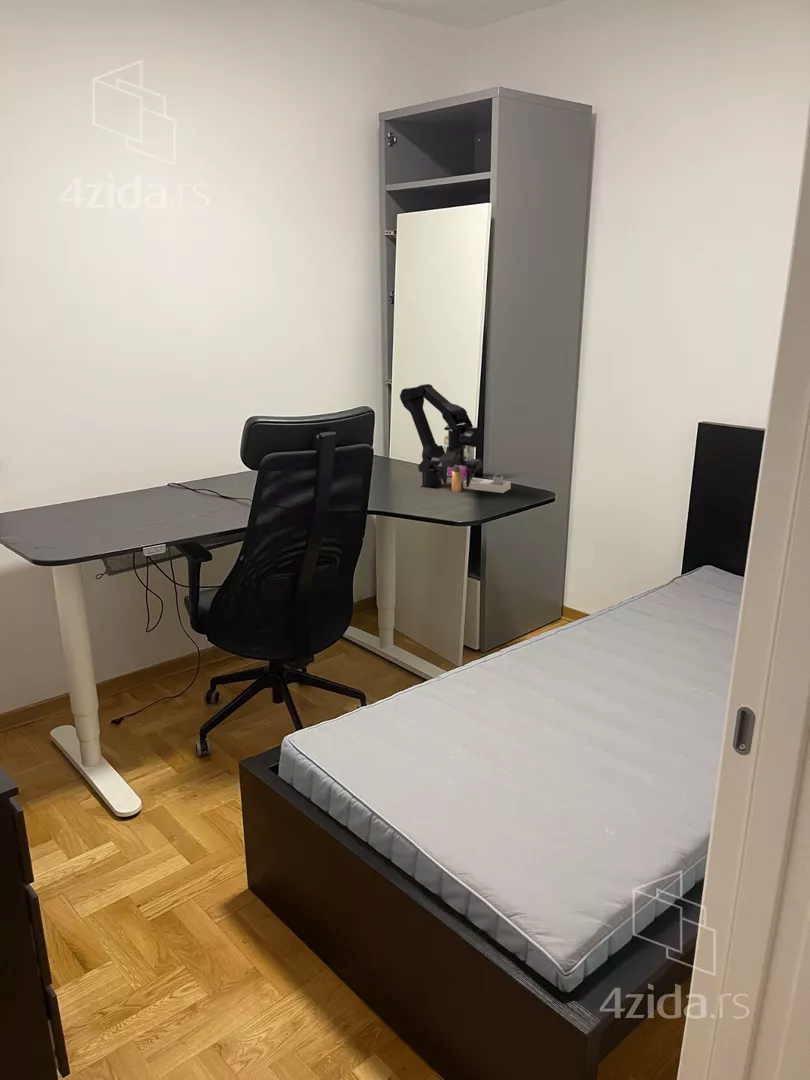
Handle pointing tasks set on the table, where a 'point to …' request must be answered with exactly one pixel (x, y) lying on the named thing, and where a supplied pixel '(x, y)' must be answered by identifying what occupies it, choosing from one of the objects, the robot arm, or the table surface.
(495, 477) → the grey plug
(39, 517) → the table surface
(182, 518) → the table surface
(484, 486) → the white compartment tray
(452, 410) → the robot arm
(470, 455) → the snack bar box
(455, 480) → the orange cylindrical bottle
